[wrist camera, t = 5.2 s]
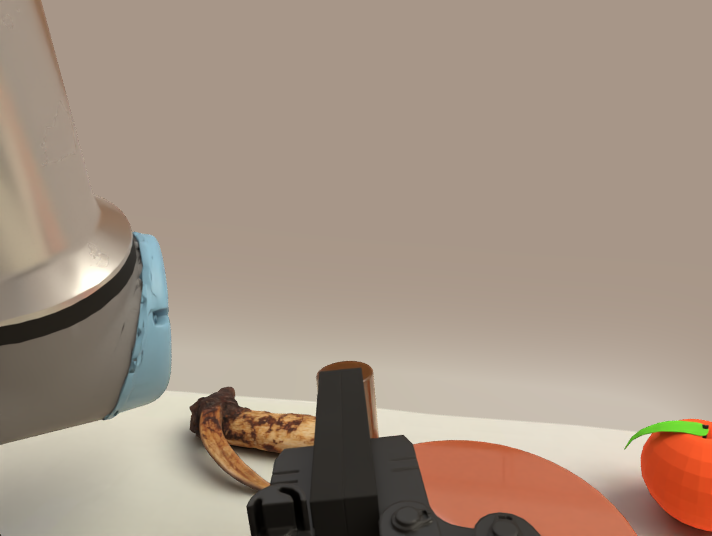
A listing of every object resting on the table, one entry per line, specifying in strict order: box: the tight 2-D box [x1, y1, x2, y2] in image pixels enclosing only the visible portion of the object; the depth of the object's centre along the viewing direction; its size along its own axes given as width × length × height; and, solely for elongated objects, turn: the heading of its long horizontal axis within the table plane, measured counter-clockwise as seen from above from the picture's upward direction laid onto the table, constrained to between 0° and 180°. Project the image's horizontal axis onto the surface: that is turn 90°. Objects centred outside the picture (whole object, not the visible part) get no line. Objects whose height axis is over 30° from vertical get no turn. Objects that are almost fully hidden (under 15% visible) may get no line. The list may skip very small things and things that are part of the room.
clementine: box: [624, 419, 712, 532], centre depth 32 cm, size 8×7×7 cm
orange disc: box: [316, 361, 637, 536], centre depth 28 cm, size 20×20×14 cm
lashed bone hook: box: [190, 387, 316, 491], centre depth 44 cm, size 9×5×18 cm
